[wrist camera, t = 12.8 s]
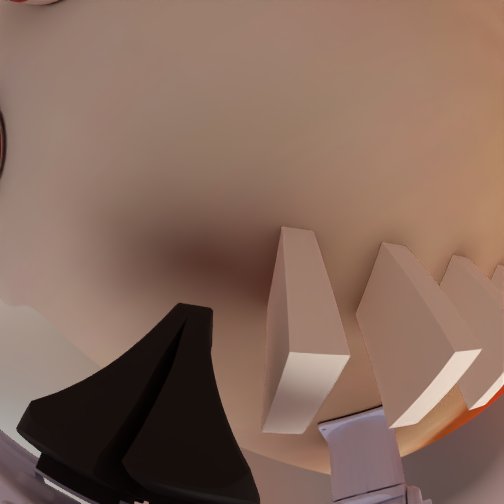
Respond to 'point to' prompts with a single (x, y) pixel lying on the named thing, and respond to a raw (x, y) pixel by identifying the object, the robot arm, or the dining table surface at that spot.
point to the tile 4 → (499, 278)
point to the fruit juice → (34, 1)
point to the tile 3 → (478, 327)
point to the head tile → (300, 336)
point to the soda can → (1, 144)
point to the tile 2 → (411, 336)
